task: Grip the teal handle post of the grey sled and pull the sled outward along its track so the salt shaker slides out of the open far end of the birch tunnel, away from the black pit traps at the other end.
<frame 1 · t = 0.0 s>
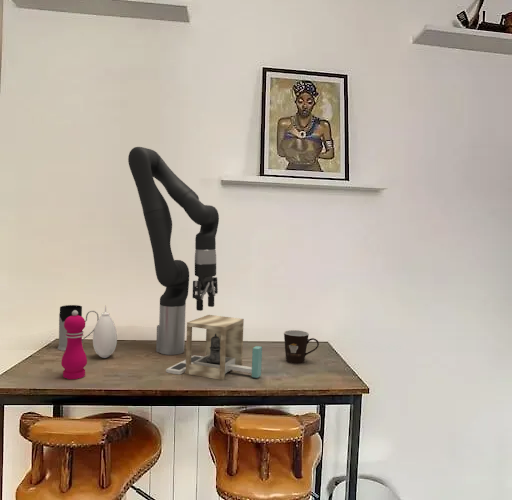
hand: (205, 308, 170), 17 cm above the table, tool pointing down, fingers open, 8 cm apart
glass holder: (78, 348, 176), on the table
pit trap board: (187, 365, 160), on the table
coffee mug: (298, 362, 168), on the table
sled: (229, 357, 154), point 5 cm above the table, slide at 0.0 cm
sauce bottle: (104, 357, 166), on the table
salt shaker: (214, 371, 156), resting in sled
tunnel: (214, 370, 156), on the table
pepper mill: (74, 376, 145), on the table
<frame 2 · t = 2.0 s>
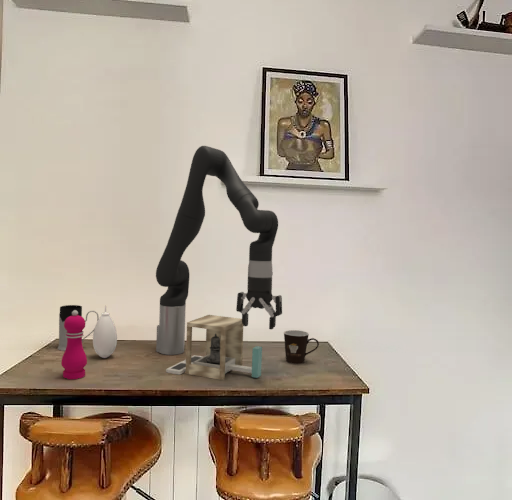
hand: (258, 327, 150), 16 cm above the table, tool pointing down, fingers open, 8 cm apart
nothing on the table moved.
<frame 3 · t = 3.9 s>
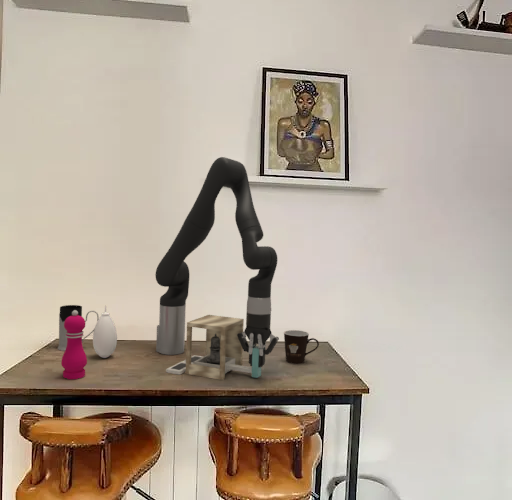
hand: (256, 366, 150), 4 cm above the table, tool pointing down, fingers closed, pressing on sled
sled: (229, 357, 154), point 5 cm above the table, slide at 0.0 cm, touching gripper
everything else where it was.
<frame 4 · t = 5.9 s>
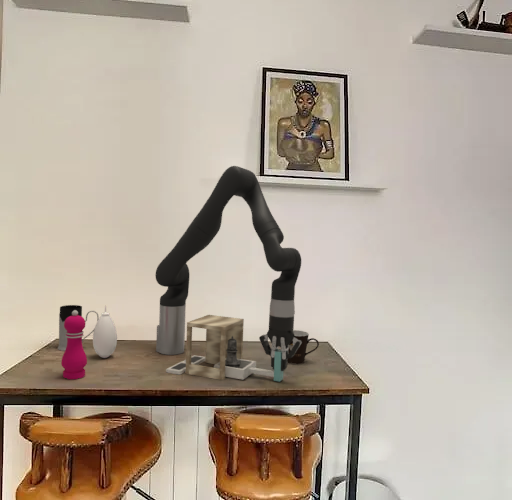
hand: (278, 369, 148), 4 cm above the table, tool pointing down, fingers closed on sled, 2 cm apart
sled: (250, 360, 151), point 5 cm above the table, slide at 7.3 cm, touching gripper
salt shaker: (231, 373, 154), resting in sled
everything else where it was.
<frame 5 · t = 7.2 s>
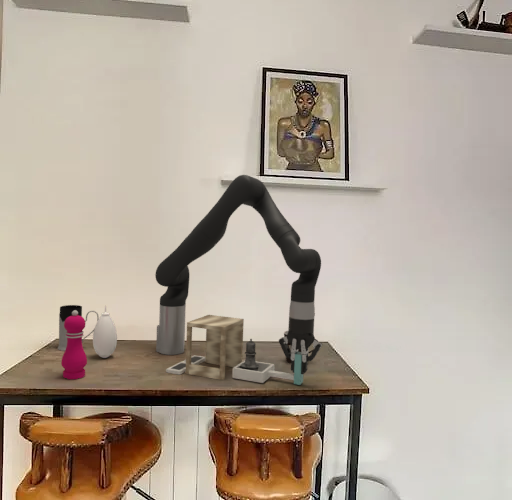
hand: (298, 372, 145), 4 cm above the table, tool pointing down, fingers closed on sled, 2 cm apart
sled: (270, 363, 149), point 5 cm above the table, slide at 13.6 cm, touching gripper, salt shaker
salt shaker: (249, 377, 151), resting in sled
everything else where it was.
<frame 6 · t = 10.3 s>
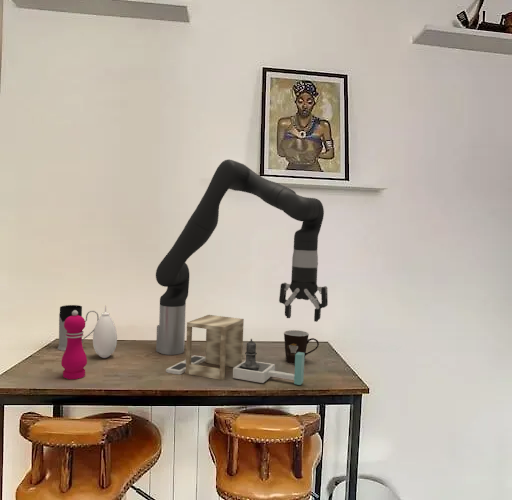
hand: (302, 319, 144), 20 cm above the table, tool pointing down, fingers open, 8 cm apart
sled: (270, 363, 149), point 5 cm above the table, slide at 13.7 cm
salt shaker: (250, 377, 151), resting in sled
everything else where it was.
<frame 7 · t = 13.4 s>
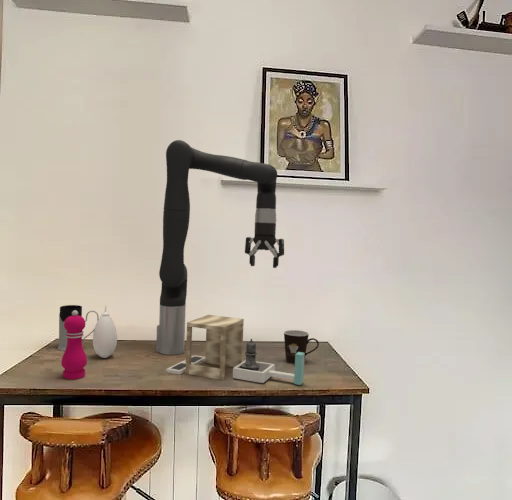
hand: (263, 266, 174), 32 cm above the table, tool pointing down, fingers open, 8 cm apart
nothing on the table moved.
at the end: sled slide at 13.7 cm; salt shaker inside the target area (1.8 cm from its centre), resting in sled; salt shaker tilted 0° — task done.
